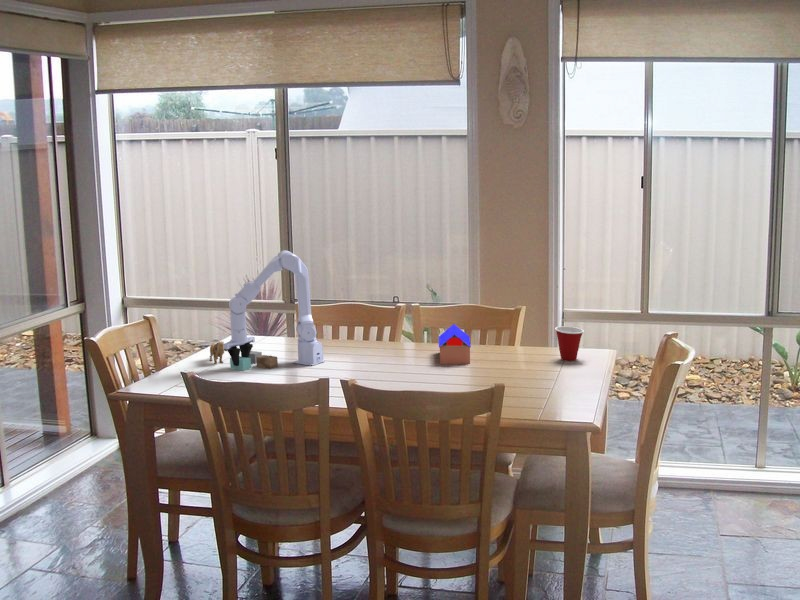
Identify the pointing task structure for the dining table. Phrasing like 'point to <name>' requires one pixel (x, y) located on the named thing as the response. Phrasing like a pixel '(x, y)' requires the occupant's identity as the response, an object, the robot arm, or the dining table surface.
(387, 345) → the dining table surface
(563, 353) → the plastic cup
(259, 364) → the walnut brick
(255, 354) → the gray brick
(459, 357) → the house
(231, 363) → the teal brick
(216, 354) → the lion figurine
